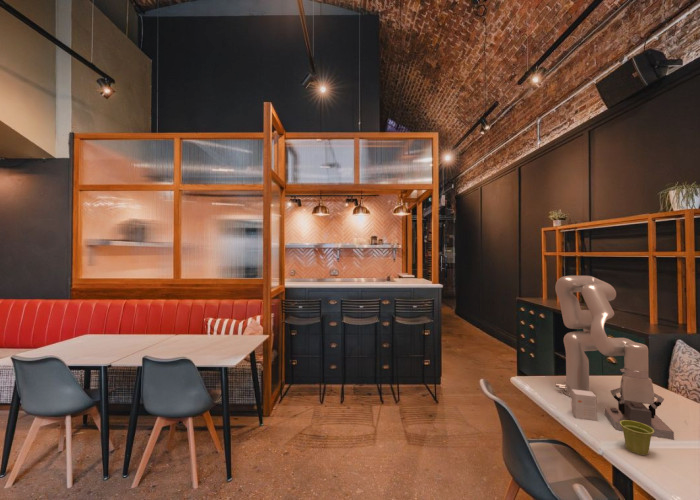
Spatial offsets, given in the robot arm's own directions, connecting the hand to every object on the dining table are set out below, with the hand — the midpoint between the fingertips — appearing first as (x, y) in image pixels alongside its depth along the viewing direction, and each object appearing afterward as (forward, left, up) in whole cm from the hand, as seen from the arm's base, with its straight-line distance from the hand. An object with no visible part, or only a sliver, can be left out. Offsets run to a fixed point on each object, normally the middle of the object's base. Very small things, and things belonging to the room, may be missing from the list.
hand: (636, 414), depth 135 cm
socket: (0, 0, -5) cm, 5 cm away
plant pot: (-7, -21, -5) cm, 23 cm away
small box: (-18, +1, -5) cm, 19 cm away
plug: (0, 0, -4) cm, 4 cm away
